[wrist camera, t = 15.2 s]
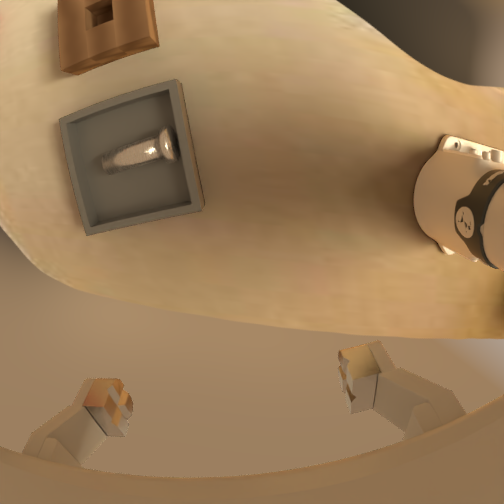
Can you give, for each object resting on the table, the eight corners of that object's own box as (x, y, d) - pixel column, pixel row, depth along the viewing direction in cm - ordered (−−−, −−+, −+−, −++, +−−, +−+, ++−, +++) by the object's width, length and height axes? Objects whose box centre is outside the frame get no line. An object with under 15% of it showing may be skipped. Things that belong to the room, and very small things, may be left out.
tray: (181, 83, 34) (176, 78, 30) (205, 204, 39) (202, 210, 36) (71, 119, 34) (59, 119, 31) (97, 227, 40) (86, 236, 37)
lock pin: (113, 148, 36) (175, 128, 35) (119, 180, 37) (182, 161, 36) (96, 146, 32) (163, 122, 31) (102, 181, 33) (170, 160, 32)
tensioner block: (150, -23, 27) (141, -37, 23) (159, 46, 31) (149, 36, 27) (73, 7, 27) (57, -2, 23) (78, 75, 32) (60, 70, 27)
